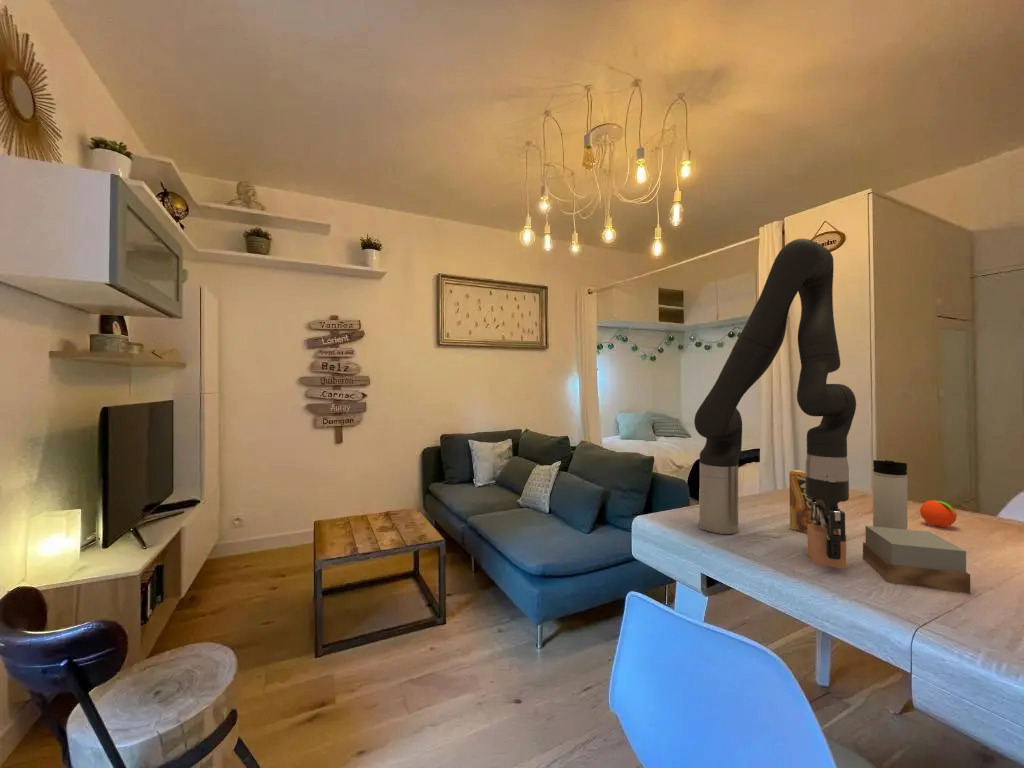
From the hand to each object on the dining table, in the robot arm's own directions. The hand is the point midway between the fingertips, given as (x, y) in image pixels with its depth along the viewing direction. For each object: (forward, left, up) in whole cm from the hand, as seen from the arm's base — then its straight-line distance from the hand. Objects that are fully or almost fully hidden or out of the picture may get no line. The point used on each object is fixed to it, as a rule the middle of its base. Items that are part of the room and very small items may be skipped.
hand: (827, 550), depth 91 cm
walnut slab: (+14, -1, -3) cm, 14 cm away
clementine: (+35, +38, -3) cm, 52 cm away
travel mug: (+18, +20, -3) cm, 27 cm away
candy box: (+2, +20, -3) cm, 20 cm away
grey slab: (+14, -1, +1) cm, 14 cm away
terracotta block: (0, 0, -2) cm, 2 cm away
